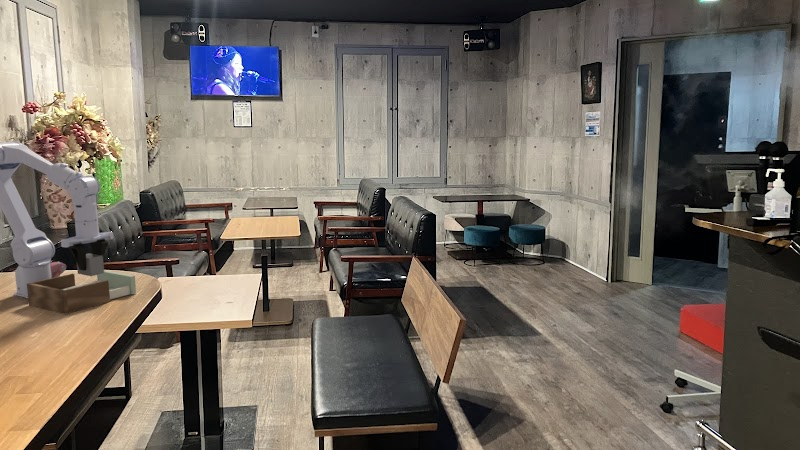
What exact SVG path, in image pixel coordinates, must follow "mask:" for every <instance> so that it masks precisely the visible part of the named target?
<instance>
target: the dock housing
mask: <svg viewBox="0 0 800 450" xmlns="http://www.w3.org/2000/svg"><path fill="white" fill-rule="evenodd" d="M72 286H76V279H75V273H68V274H65V275H60V276H59V277H55V278H50V279H46V280H41V281H37V282H32V283H28V284H27V292H28V298H27V299H28V300H27V301H28V306H31V307H35V308H39V309H42V310H46V311H51V312H54V313H59V314H63V315H67V314H70V313H73V312H77V311H81V310H85V309H89V308H92V307H95V306H96V307H97V306H100V305H102V304H106V303H110V302H111V299H110V294H109V281H108V280H105V281H101V282H97V283H93V284H89V285H84V286H80V287H76V288H72V289H68V290H61V289H64V288H68V287H72Z"/></svg>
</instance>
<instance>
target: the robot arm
mask: <svg viewBox="0 0 800 450" xmlns="http://www.w3.org/2000/svg"><path fill="white" fill-rule="evenodd" d="M22 164H23V165H25V166H28V167H30V168H32V169H34V170H36V171H38V172H39V173H42V174H44V175H46V178H47V180H48V181H49V182H50V183H52V184H54V185H56V186H58V187H59V188H61V189H64V190H65V191H67V194H68V195H69V197H70V198H71V203H72V204H73V212H74V223H75V224H74V226H75V236H72V237H68V238H64V239H60V246H61V247H62V248H68V250H69V251H70V253H71V254H72V256H73V257H74V259H75V261H76V265H77V264H78V267H79V270H83V271H84V270H86V254H87V252H88V251H87V250H88V246H84V244H89V245H90V248H91V250H92V254H95V255H101V256H103V257H104V255H105V252H106V251H107V248H108V246H109V241H107V240H113V239H114V232H113V231H104V232H100V229H99V228H100V227H99V218H98V205H97V204H98V202H97V195H98V194H99V192H100V189H101V185H100V183H99V181H98V179H96V177H94V176H93V175H84V174H83V173H82V172H81V171H77V170H74V169H72V168H71V167H68V166H69V165H68V163H65V162H56V163H52V162H51V161H49V160H48V159H46V158H44V157H43V156H41V155H40V154H37V152H34V151H33V150H32V149H30V148H29V147H28V146H27V145H26V144H23V143H21V142H19V141H15V140H12V141H3V142H0V209H1V210H2V213H3V214H4V217H5V219H6V220H7V223H8V225H9V227H10V228H11V231H12V234H13V235H14V236H13V239H12V240H11V242H10V247H11V250H12V256H13V260H14V261H15V263H17V265H18V266H17V267H16V269H15V272H14V274H15V275H14V276H15V284H16V285H15V288H16V292H14V293H13V296H17V297H21V298H26V299H28V292H27V284H28V283H32V282H37V281H41V280H46V279H50V278H51V269H50V263H52V258H53V257H54V256H55V253H56V247H55V245H54V243H53V242H52V241H51V240H50V239H49V238H48V237H47V235H46V233H45V232H44V231H42V230H40V229H38V228H37V227H36V226H35V224H34V222H33V219H32V218H31V215H30V213H29V212H28V210H27V208H26V207H27V206H25V204H24V202H23V199H22V197H21V196H20V193H19V191H18V189H17V187H16V185H15V183H14V182H13V178H12V176H13V174H14V173H15V172H16V170H18V168H19V167H20V166H21V165H22Z"/></svg>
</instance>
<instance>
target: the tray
mask: <svg viewBox="0 0 800 450" xmlns="http://www.w3.org/2000/svg"><path fill="white" fill-rule="evenodd" d="M96 276H97V277H96V280H94V281H90V282H86V283H81V284H77V285H75V286H72V287H68V288H64V289H61V290H68V289H72V288H76V287H80V286H84V285H89V284H93V283H97V282H101V281H105V280H108V281H109V294H110V300H114V299H118V298H122V297H124V296H125V297H126V296H128V295H135V294H137V290H136V289H137V287H136V276H135V275H132V274H127V273H123V272H117V271H116V272H115V271H111V270H106V269H104V273H103V274H99V275H96Z"/></svg>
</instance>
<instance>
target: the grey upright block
mask: <svg viewBox="0 0 800 450" xmlns="http://www.w3.org/2000/svg"><path fill="white" fill-rule="evenodd" d="M104 265H105V264H104V256H101V255H95V254H93V253H86V270H84V271H83V270H79V267H78V264H77V263H76V268H77V269H76V270H77V274H78V275H82V276H88V277H94V276H97V275H99V274H103V273H104V270H105V266H104Z"/></svg>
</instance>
